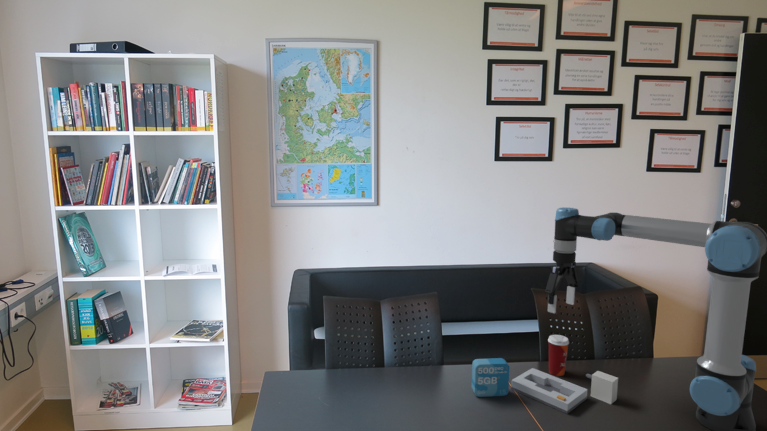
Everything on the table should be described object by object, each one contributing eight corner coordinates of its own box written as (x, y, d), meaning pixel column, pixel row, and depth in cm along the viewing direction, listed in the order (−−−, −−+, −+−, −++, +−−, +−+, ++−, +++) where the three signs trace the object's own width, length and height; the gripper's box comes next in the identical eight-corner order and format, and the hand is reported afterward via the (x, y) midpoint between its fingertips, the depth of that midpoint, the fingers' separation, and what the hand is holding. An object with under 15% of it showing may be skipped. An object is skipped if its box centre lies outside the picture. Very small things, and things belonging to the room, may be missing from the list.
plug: (616, 399, 161) (618, 377, 160) (611, 404, 158) (612, 382, 157) (587, 388, 168) (589, 367, 167) (582, 392, 165) (583, 371, 164)
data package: (474, 397, 162) (475, 364, 161) (471, 390, 167) (472, 358, 165) (508, 396, 163) (509, 363, 161) (504, 389, 168) (505, 357, 166)
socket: (586, 398, 161) (587, 387, 161) (567, 414, 152) (567, 402, 152) (532, 376, 177) (532, 366, 176) (511, 389, 168) (511, 378, 167)
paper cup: (568, 378, 176) (571, 343, 174) (547, 376, 177) (549, 341, 175) (565, 368, 183) (567, 334, 181) (544, 366, 185) (546, 333, 183)
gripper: (571, 244, 178) (567, 298, 181) (536, 254, 162) (533, 313, 165) (590, 247, 173) (586, 303, 176) (556, 258, 156) (553, 319, 159)
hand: (561, 308), depth 170 cm, fingers open, 13 cm apart
